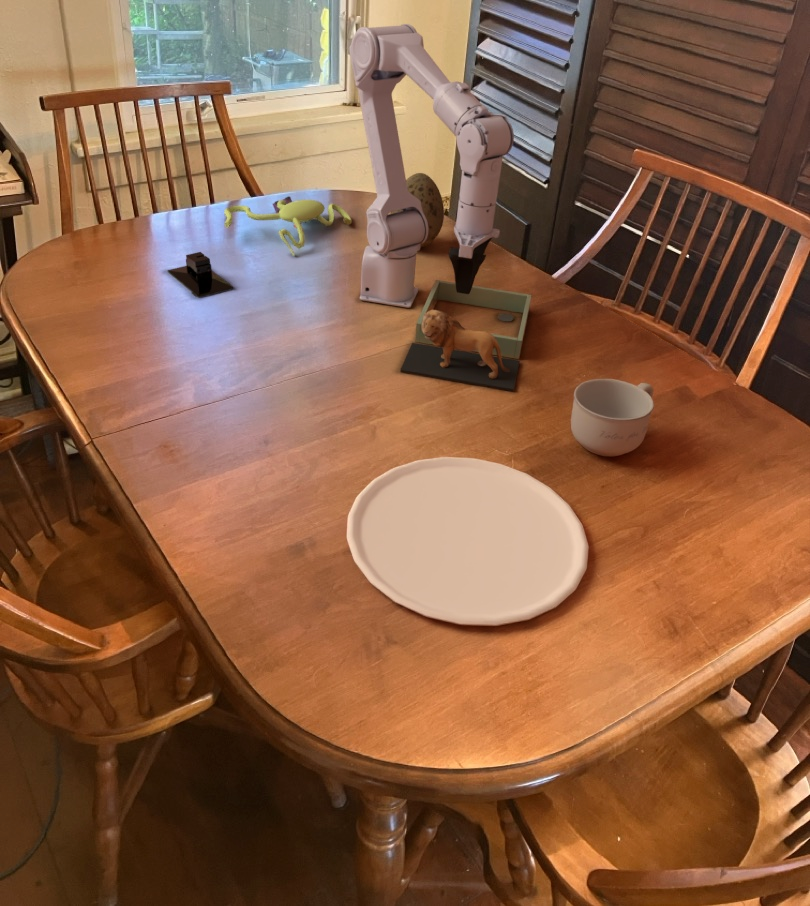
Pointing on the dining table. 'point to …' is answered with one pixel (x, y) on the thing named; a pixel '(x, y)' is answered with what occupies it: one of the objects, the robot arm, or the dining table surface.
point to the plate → (467, 541)
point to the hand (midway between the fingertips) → (467, 282)
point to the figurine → (292, 216)
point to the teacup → (611, 415)
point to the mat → (459, 367)
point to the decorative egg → (427, 203)
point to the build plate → (199, 276)
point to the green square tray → (485, 299)
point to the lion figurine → (460, 340)
